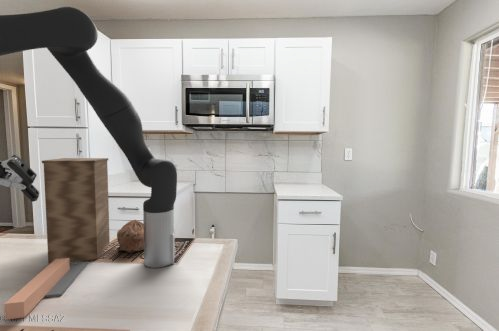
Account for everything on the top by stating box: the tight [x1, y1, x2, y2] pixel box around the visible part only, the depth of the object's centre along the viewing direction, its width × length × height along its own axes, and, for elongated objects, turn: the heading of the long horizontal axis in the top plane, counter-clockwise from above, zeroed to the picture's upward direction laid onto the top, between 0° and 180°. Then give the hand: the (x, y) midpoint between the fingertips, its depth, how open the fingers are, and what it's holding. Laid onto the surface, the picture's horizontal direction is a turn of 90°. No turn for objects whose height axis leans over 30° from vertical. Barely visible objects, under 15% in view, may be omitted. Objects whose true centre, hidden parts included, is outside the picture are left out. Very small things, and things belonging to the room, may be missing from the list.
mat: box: [42, 261, 89, 299], centre depth 73 cm, size 6×18×1 cm, turn 13°
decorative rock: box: [116, 219, 144, 254], centre depth 94 cm, size 13×11×10 cm
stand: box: [41, 157, 111, 264], centre depth 89 cm, size 15×15×32 cm
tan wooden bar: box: [3, 258, 70, 320], centre depth 66 cm, size 4×22×4 cm, turn 14°
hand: (15, 205), depth 56 cm, fingers open, 8 cm apart
